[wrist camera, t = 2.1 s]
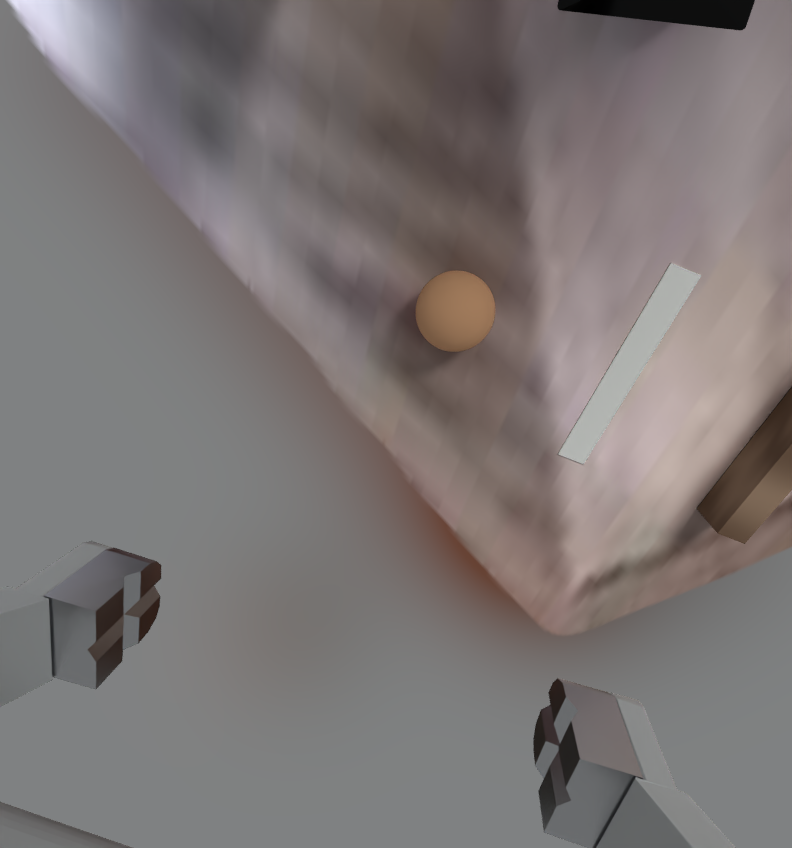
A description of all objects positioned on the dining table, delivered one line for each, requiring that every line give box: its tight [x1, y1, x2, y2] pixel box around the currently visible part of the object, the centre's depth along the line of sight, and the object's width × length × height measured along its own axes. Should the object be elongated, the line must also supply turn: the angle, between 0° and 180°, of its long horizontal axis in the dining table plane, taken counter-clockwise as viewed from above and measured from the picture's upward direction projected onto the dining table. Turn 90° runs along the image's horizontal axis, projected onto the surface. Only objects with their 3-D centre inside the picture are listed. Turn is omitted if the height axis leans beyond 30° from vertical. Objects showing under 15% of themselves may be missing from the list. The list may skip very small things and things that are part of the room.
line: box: [558, 263, 702, 464], centre depth 31 cm, size 14×2×1 cm, turn 160°
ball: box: [416, 270, 495, 352], centre depth 28 cm, size 5×5×5 cm
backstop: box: [697, 387, 792, 544], centre depth 30 cm, size 14×2×3 cm, turn 160°
